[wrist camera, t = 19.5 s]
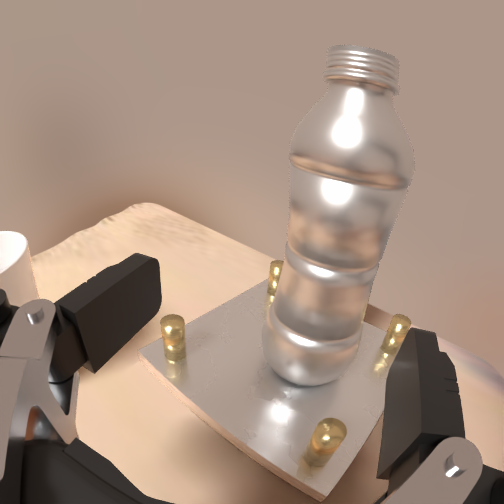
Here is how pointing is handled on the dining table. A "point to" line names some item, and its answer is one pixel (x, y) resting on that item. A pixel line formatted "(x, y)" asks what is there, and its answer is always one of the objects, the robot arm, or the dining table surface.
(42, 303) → the robot arm
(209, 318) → the plate
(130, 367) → the dining table surface
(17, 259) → the white cup
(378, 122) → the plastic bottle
